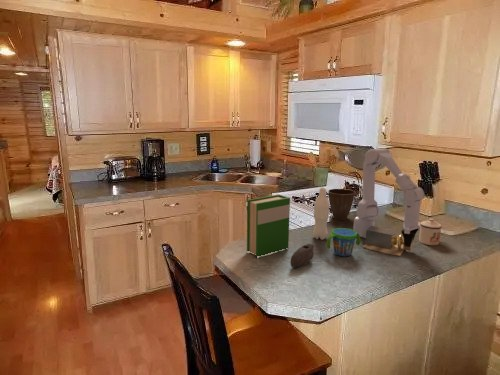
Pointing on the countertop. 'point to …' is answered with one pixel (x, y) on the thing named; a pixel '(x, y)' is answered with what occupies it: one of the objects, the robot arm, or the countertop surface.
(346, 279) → the countertop surface
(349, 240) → the snack cup
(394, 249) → the mounting board
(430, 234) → the teacup with lid
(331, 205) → the plant pot
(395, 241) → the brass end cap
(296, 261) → the perforated stone tool
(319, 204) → the water bottle
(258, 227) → the hardback book
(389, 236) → the gunmetal housing
